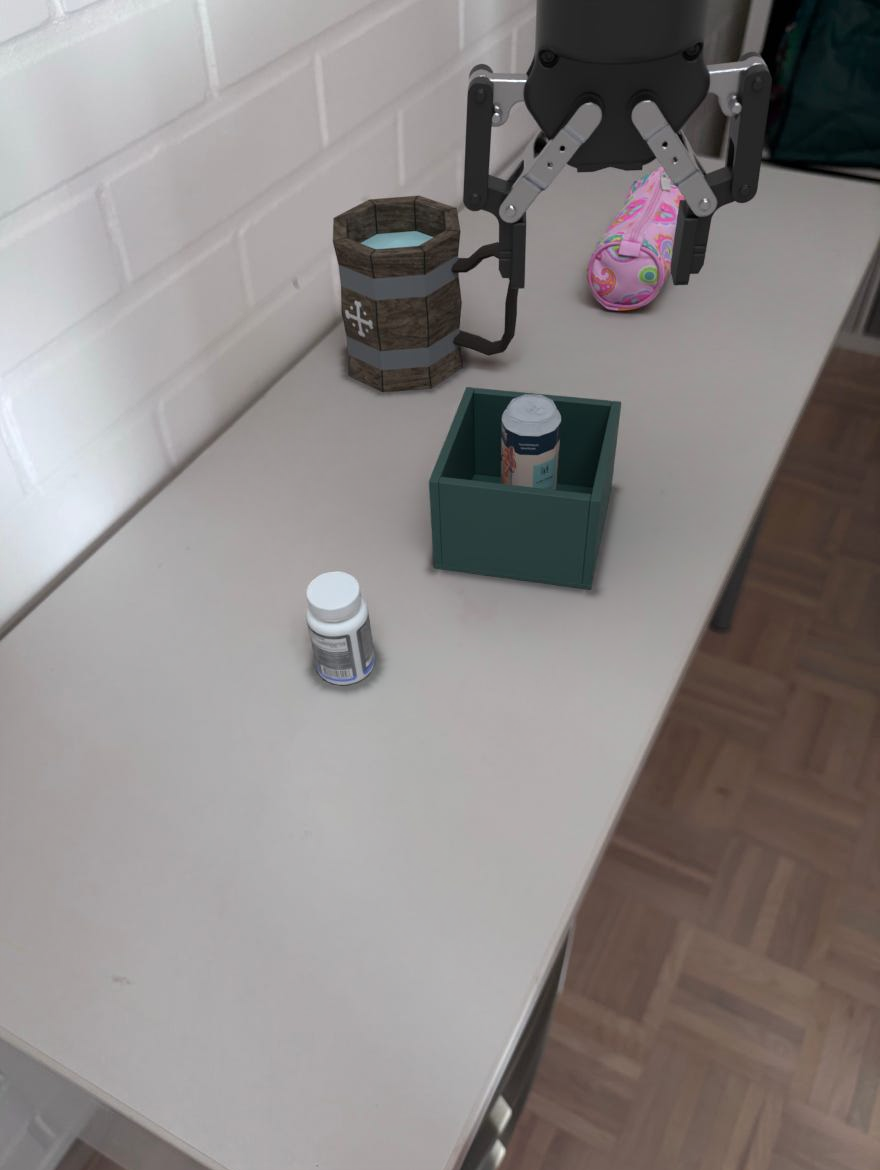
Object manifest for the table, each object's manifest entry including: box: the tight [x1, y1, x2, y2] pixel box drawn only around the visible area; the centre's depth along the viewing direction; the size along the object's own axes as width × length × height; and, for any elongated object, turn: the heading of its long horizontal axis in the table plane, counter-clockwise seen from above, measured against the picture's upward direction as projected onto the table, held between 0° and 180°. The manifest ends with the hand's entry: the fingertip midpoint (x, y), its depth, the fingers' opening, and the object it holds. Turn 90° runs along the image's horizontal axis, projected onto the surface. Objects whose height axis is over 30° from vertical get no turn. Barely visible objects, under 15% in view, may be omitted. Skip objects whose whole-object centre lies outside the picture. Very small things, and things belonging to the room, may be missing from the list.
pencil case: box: [586, 165, 685, 312], centre depth 114 cm, size 21×9×9 cm, turn 157°
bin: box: [428, 386, 622, 591], centre depth 84 cm, size 14×14×10 cm
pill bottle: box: [305, 570, 376, 686], centre depth 75 cm, size 5×5×8 cm
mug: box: [332, 195, 519, 393], centre depth 102 cm, size 20×14×15 cm
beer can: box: [501, 394, 561, 490], centre depth 83 cm, size 5×5×12 cm
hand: (598, 280), depth 53 cm, fingers open, 8 cm apart
